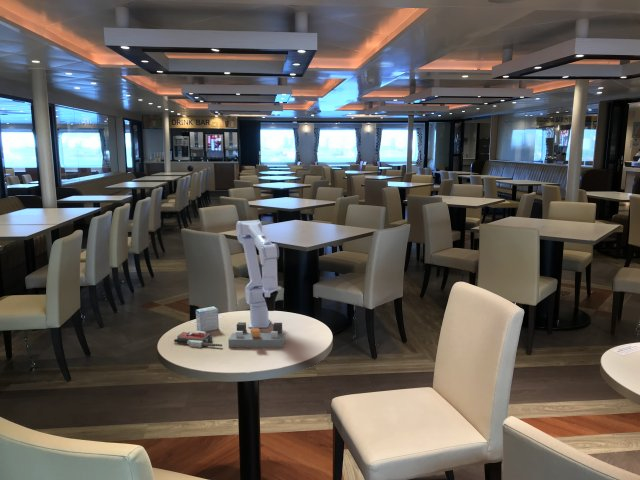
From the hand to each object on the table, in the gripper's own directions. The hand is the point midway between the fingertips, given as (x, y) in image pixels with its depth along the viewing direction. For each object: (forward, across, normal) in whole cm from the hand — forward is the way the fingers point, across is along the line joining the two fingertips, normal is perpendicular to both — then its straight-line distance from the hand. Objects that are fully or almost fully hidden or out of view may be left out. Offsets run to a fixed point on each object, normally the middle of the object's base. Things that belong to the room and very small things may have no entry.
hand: (270, 310), depth 200 cm
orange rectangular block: (+8, -9, +4) cm, 12 cm away
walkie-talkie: (+11, -7, +26) cm, 29 cm away
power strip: (+10, -8, +4) cm, 14 cm away
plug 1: (+10, +1, +11) cm, 15 cm away
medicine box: (+10, +7, +27) cm, 30 cm away
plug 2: (+10, +1, -3) cm, 11 cm away
